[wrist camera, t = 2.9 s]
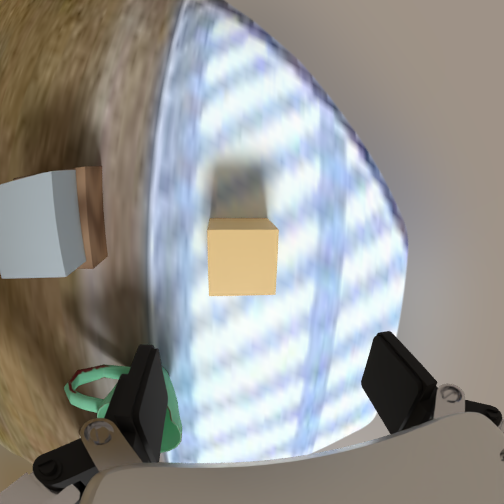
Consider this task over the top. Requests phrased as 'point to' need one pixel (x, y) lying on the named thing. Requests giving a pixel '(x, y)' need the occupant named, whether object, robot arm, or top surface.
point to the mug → (100, 406)
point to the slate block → (40, 226)
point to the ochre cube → (242, 256)
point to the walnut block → (90, 214)
